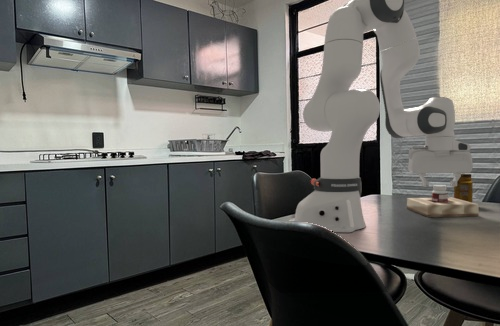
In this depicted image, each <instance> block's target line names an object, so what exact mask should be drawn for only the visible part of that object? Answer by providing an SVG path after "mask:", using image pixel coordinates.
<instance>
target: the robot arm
mask: <svg viewBox="0 0 500 326" xmlns="http://www.w3.org/2000/svg"><path fill="white" fill-rule="evenodd" d="M409 16H410V15H408V13H407V11H406V10H405V0H350V1H349V2H347V3H346V4H344V5H343V6H341V7H339V8H336V9H334V11H333V12H332V13H330V16H329V18H328V21H327V26H326V30H325V36H324V45H323V56H322V57H323V59H322V65H321V66H322V67H321V68H322V69H321V72H320V77H319V81H318V83H317V86H316V88H315V91H314V93H313V95H312V96H311V98H310V99H309V101H307V103H306V104H305V106H304V107H303V111H302V117H303V122H304V123H305V125H306V126H307V127H308V129H311V130H313V131H317V132H322V133H323V132H324V133H325V132H331V135H330V139H329V140H328V143H326V145H325V146H324V147H323V148H322V149H321V151H320V155H319V156H320V177H318V178H317V179H316V178H311V180H310V184H311V185H312V186H313V189H314V190H313V191H312V192H311V193H310V194H308V195H307V196H306V197H304V198H303V199H302V200H301V201H299V202H298V204H297V206H296V209H295V217H293V218H290V219H289V220H288V221H298V222H308V223H313V224H317V225H320V226H323V227H326V228H327V229H329V230H332V231H333V232H332V233H353V232H354V231H357V230H360V229H363V228H366V227H367V225H366V221H365V218H364V214H363V213H364V212H363V209H362V201H361V197H362V178H361V177H360V155H361V154H360V153H361V148H362V143H363V141H364V139H365V135H366V134H367V132H368V130H369V129H370V128H371V127H372V126H373V125H374V123H376V122H377V120H378V118H379V116H380V113H381V103H380V101H379V98H378V97H377V95H376V93H375V92H374V91H372V90H368V89H350V88H351V86H352V84H353V83H354V81H356V79H357V78H358V77H359V75H360V74H361V72H362V64H363V52H364V34H365V33H368V32H371V31H372V32H374V33H375V35H376V36H377V42H378V47H379V51H380V55H381V60H382V67H381V70H380V72H379V74H380V75H379V77H380V78H379V80H380V87H381V93H382V100H383V105H384V111H385V112H384V113H385V121H384V122H385V129H386V131H387V133H388V134H389V135H390V136H391V137H392V138H394V139H403V138H405V139H406V138H410V137H420V136H421V137H425V139H424V140H425V141H424V142H425V143H424V145H420V146H419V145H414V146H412V147H410V148H409V150H408V158H409V159H408V165H407V170H408V172H410V173H412V174H418V177H419V179H420V180H421V182H422V183H421V186H422V187H429V183H430V182H429V180H427V179H426V178H425V177H426V176H427V175H426V174H453V175H452V176H454V177H453V178H452V180H449V185H450V186H451V187H454V186H457V181H458V180H459V178H460V177H461V174H471V172H472V170H473V164H474V163H473V156H472V153H471V152H470V150H471V146H472V145H471V144H469V143H466V142H462V141H460V140H457V139H456V135H455V132H454V131H455V130H454V129H455V124H456V112H455V111H456V110H455V106H454V105H455V104H454V101H453V99H451V98H449V97H446V96H444V97H443V96H435V97H430V98H429V99H428V100H427V101H426V102H425V103H424V104H422V105H419V106H417V107H411V108H405V107H404V105H403V100H402V93H401V86H400V85H401V81H402V80H403V78H404V77H405V75H406V74H408V73H409V72H410V71H411V70H412V69H413V68H415V66H416V64H417V63H418V62H419V59H420V57H421V47H420V44H419V39H418V37H417V33H416V30H415V27H414V25H413V23H412V20H411V18H410V17H409ZM349 89H350V90H349Z"/></svg>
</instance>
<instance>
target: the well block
mask: <svg viewBox="0 0 500 326" xmlns="http://www.w3.org/2000/svg"><path fill="white" fill-rule="evenodd" d="M479 207H480V205H479V203H475V202H472V203H471V202H468V201H464V200H460V199H456V198H454V197H452V196H451V197H450V196H448V203H434V202H432V197H407V198H406V209H407V210H410V211H412V212H415V213H416V214H419V215H422V216H424V217H427V218H439V217H441V218H444V217H445V218H447V217H448V218H449V217H479V214H480V213H479Z"/></svg>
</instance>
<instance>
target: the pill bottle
mask: <svg viewBox="0 0 500 326" xmlns="http://www.w3.org/2000/svg"><path fill="white" fill-rule="evenodd" d="M448 197H449V192H448V191H447V185H446V184H433V186H432V191H431V198H432V202H434V203H448Z"/></svg>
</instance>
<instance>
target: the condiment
mask: <svg viewBox="0 0 500 326" xmlns="http://www.w3.org/2000/svg"><path fill="white" fill-rule="evenodd" d="M473 184H474V183H473V181H472V174H471V173H461V177H460V178H459V180H458V181H457V186H453V198H456V199H460V200H464V201H468V202H471V203H473V194H474V193H473V192H474V191H473V187H474V186H473Z"/></svg>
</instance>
